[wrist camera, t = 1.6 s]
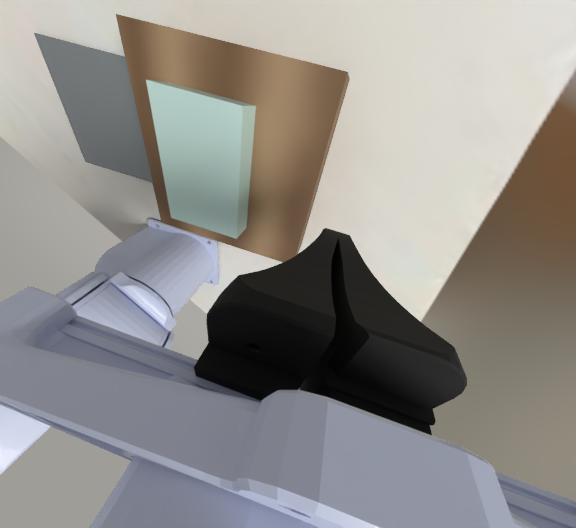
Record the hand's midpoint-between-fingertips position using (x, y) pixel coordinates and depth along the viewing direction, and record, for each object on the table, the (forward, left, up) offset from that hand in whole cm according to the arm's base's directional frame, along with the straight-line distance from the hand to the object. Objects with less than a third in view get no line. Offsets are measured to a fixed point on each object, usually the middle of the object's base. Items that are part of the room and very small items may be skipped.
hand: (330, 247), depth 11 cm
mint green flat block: (-10, 0, -6) cm, 12 cm away
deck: (-9, 0, -10) cm, 14 cm away
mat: (-22, 0, -10) cm, 24 cm away
